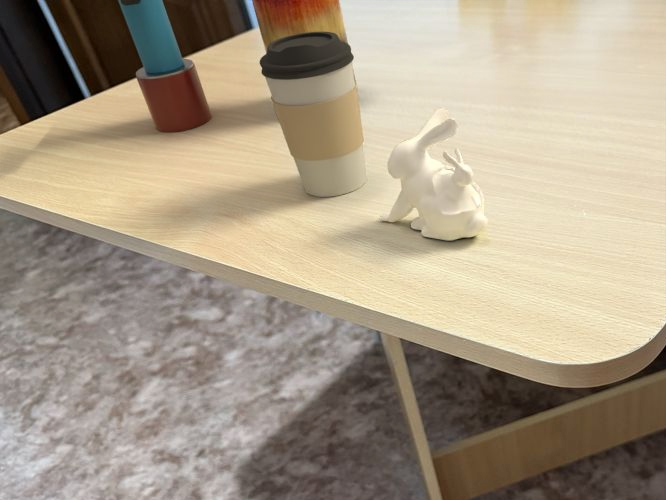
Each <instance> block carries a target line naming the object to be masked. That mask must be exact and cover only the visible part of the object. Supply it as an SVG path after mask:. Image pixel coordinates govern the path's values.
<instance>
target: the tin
mask: <svg viewBox="0 0 666 500" xmlns="http://www.w3.org/2000/svg"><path fill="white" fill-rule="evenodd" d="M182 59H183V62H184V64H183V66H181V67H179V68H177V69H175V70H172V71H168V72H163V73H147V72H146V71H145V69H144V67H143V66H142V67H141V68H139V69H138V70H137V71H136V72H135V78H136V81H137V83H138V85H139V89H140V91H141V93H142V96H143V98H144V101H145V103H146V106H147V109H148V111H149V114H150V116H151V118H152V122H153V124H154V126H155V128H156V130H157V131H159V132H163V133H177V132H184V131H188V130H192V129H194V128H198V127H200V126H202V125H204V124H206V123H207V122H209V121H210V120H211V119H212V116H213V115H212V113H211V109H210V106H209V103H208V99H207V97H206V94H205V91H204V88H203V85H202V82H201V79H200V76H199V74H198V71H197V68H196V65H195V62H193V60H192V59H189V58H182Z"/></svg>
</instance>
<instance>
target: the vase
mask: <svg viewBox="0 0 666 500" xmlns="http://www.w3.org/2000/svg"><path fill="white" fill-rule="evenodd" d="M251 1H252V5H253V9H254V13H255V18H256V21H257V25H258V27H259V32H260V35H261V39H262V44H263V47H264V50H265V54H267V46H268V45H269V44H270V43H272V42H273V41H275V40H278V39H280V38H283V37H287V36H291V35H295V34H300V33H307V32H332V33H335V34H337V36H338V37H339V39H340V40H341V41H342V42H345V43H347V44H349V41H348V36H347V31H346V26H345V20H344V16H343V11H342V7H341V1H340V0H251ZM353 72H354V73H355V71H354V70H353ZM354 80H355V81H356V76H355V75H354ZM357 92H358V90H357ZM358 93H359V92H358Z"/></svg>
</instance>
